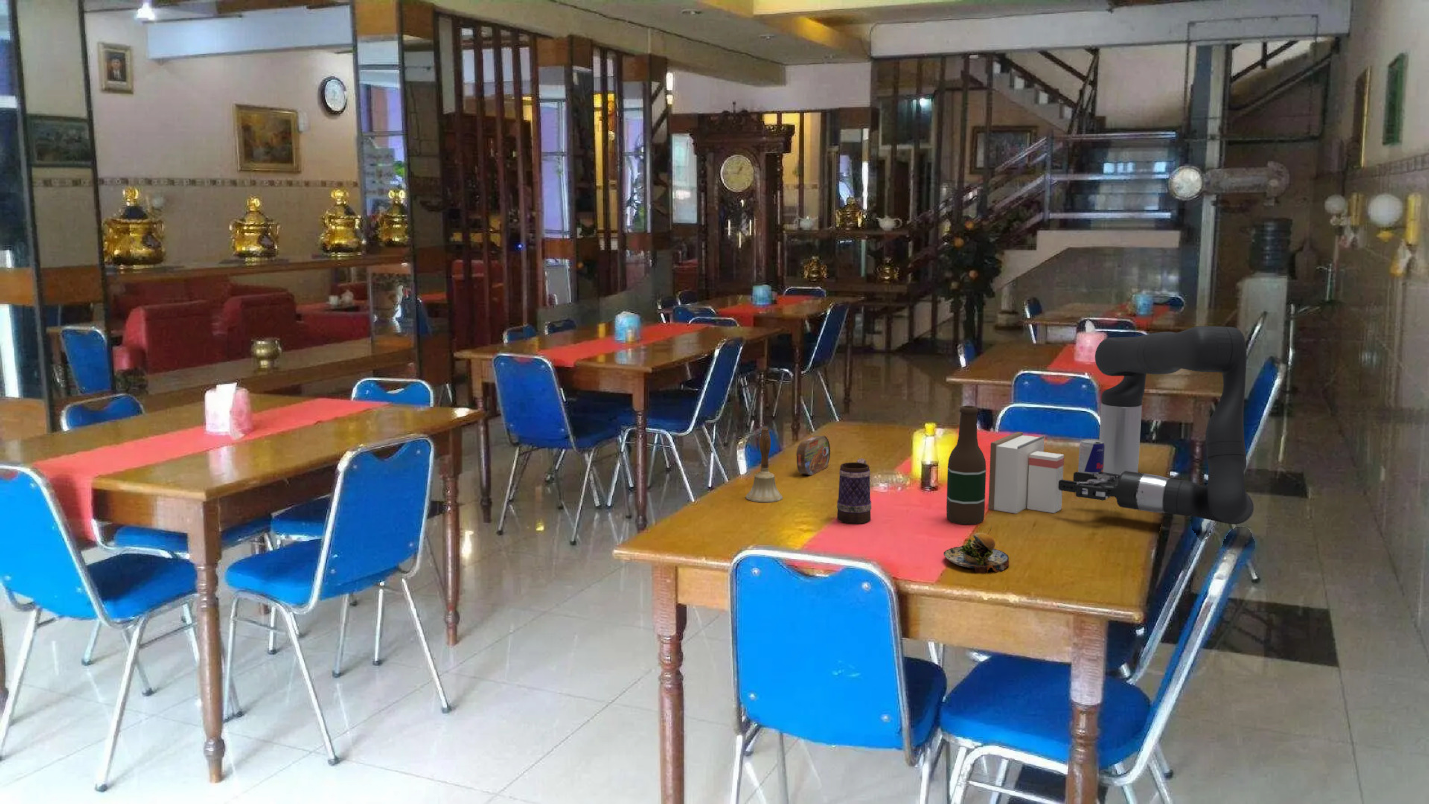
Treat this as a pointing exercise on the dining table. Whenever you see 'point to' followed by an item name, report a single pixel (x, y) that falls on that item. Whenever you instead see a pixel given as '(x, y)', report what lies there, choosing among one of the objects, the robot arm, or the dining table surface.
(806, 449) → the tin
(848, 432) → the dining table surface
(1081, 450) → the energy drink
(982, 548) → the burger
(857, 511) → the mug
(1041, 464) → the white juice carton
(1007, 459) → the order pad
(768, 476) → the hand bell
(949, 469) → the beer bottle
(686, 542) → the dining table surface
